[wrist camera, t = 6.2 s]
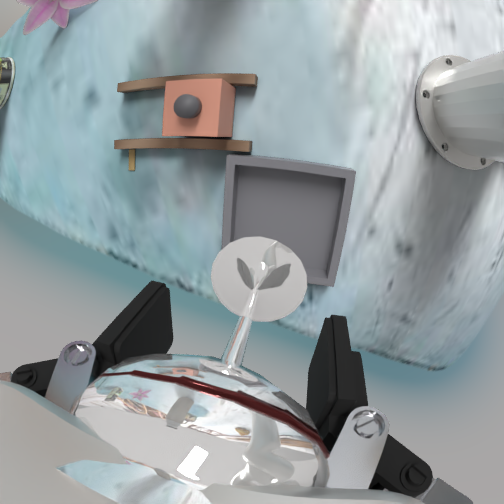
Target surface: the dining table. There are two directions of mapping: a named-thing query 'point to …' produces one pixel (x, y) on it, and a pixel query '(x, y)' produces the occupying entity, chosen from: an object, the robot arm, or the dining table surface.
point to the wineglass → (206, 402)
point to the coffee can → (6, 78)
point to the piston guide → (183, 142)
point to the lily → (49, 12)
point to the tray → (290, 208)
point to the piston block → (198, 108)
